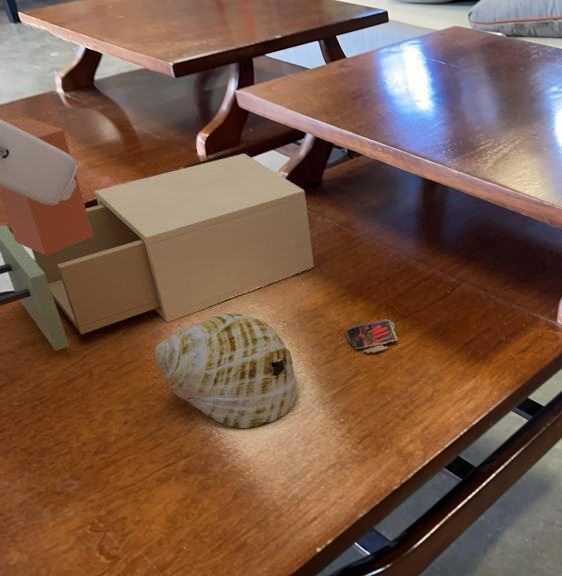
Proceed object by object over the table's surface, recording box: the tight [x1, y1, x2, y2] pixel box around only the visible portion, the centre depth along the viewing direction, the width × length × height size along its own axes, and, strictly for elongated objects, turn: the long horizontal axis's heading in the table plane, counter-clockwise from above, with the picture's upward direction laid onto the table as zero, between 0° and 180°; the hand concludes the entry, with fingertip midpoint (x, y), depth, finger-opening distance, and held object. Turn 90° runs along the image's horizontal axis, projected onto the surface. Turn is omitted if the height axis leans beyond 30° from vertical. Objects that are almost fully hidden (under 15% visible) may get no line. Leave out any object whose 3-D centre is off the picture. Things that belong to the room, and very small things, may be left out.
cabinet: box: [94, 153, 315, 323], centre depth 82 cm, size 17×14×10 cm
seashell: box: [154, 312, 298, 429], centre depth 64 cm, size 10×10×10 cm
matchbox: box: [345, 318, 398, 354], centre depth 74 cm, size 5×5×1 cm
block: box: [0, 118, 93, 256], centre depth 58 cm, size 4×4×9 cm
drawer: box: [0, 204, 161, 352], centre depth 74 cm, size 20×12×8 cm, turn 133°
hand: (45, 181), depth 58 cm, fingers closed on block, 4 cm apart
